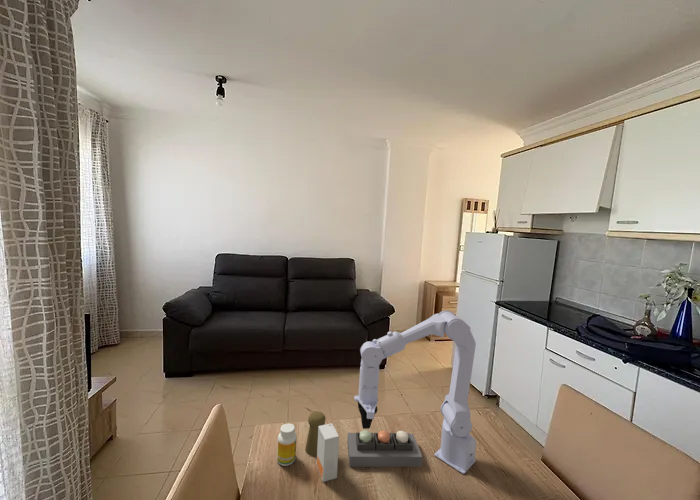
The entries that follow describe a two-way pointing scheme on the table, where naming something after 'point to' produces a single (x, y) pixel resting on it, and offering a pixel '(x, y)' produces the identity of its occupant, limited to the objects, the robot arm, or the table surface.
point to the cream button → (402, 437)
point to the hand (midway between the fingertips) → (365, 427)
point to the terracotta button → (383, 437)
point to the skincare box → (327, 452)
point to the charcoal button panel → (383, 452)
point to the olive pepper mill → (314, 432)
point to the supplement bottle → (286, 445)
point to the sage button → (365, 436)
